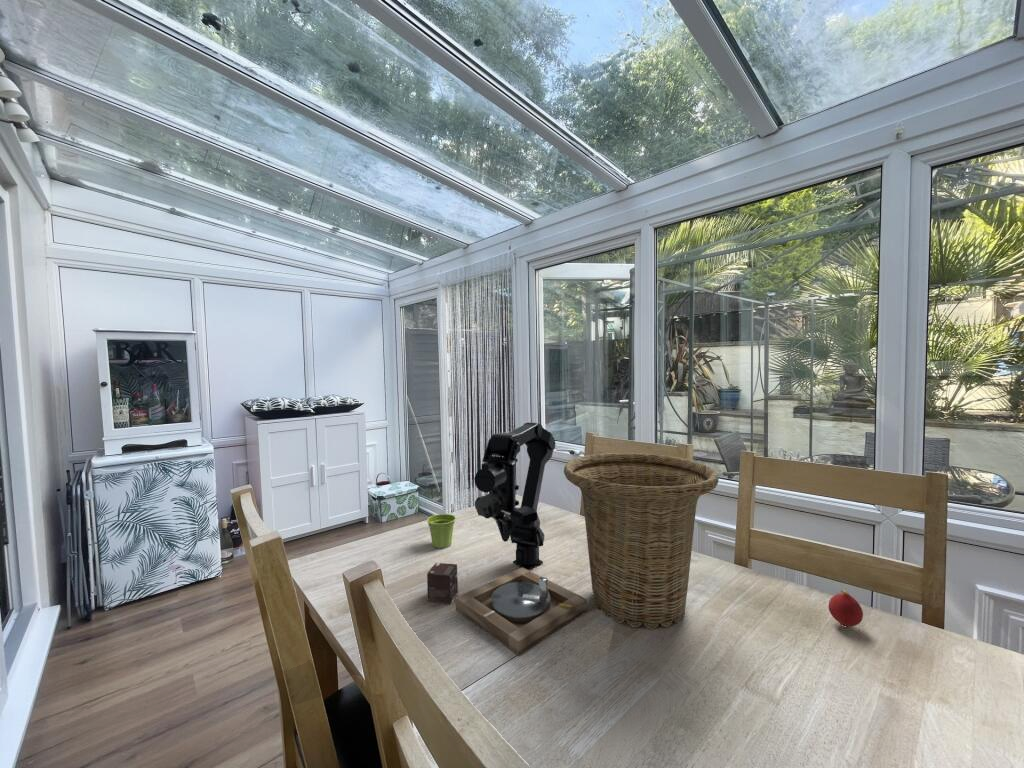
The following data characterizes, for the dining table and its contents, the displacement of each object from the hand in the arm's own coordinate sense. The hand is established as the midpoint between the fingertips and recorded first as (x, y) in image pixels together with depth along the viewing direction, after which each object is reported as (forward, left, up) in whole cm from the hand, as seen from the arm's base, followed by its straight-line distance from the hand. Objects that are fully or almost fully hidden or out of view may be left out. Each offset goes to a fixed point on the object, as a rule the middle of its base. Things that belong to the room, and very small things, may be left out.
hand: (505, 541), depth 109 cm
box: (+15, -7, -12) cm, 21 cm away
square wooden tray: (+5, +11, -12) cm, 17 cm away
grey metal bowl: (+5, +11, -11) cm, 16 cm away
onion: (-42, +64, -12) cm, 78 cm away
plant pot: (-2, -34, -12) cm, 36 cm away
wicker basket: (-18, +28, -12) cm, 35 cm away
